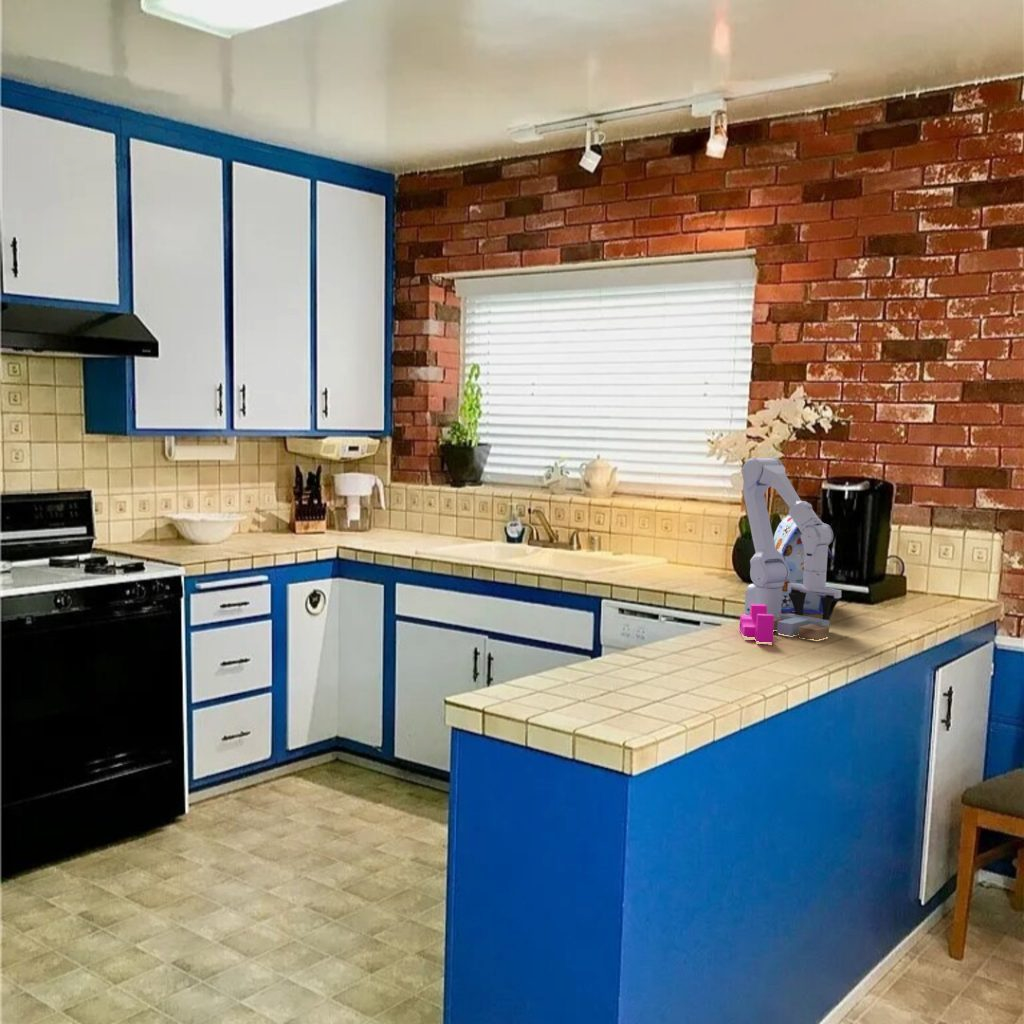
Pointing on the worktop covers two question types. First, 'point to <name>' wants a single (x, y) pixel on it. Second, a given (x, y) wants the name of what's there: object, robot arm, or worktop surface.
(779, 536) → the lunch bag
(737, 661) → the worktop surface
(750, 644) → the worktop surface
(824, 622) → the T block
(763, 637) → the toy block
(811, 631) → the walnut slot
